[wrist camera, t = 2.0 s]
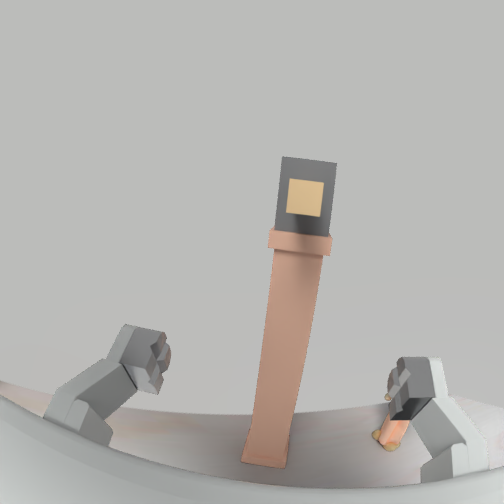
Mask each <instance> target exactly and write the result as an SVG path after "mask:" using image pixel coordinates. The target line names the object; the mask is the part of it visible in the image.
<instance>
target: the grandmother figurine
mask: <svg viewBox="0 0 504 504" xmlns="http://www.w3.org/2000/svg"><path fill="white" fill-rule="evenodd" d="M385 399H386V400H391V399H392V398H391V397H390V396H389V394H388V393H387V394H386V395H385ZM409 422H410V420H398V421H390V416H389V413H388V415H387V417H386V419H385V421H384V423H383V425H382V427H381V430H375V431H374V432H373V433H372V436H373V438H374V439H376V440H379V442H380V443H381V444H382V445H383V448H384V449H385V450H387V451H394V450H395V449H397V448H398V447H399V446H400V441H401V439H402V437H403V435H404V434H405V432H406V430H407V427H408V425H409Z"/></svg>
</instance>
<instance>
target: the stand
mask: <svg viewBox="0 0 504 504" xmlns="http://www.w3.org/2000/svg"><path fill="white" fill-rule="evenodd" d="M274 228H275V226H274V227H273V228H272V229H271V230H270V233H269V243H268V248H274V257H273V265H272V274H271V282H270V291H269V298H268V306H267V314H266V322H265V329H264V337H263V345H262V352H261V360H260V367H259V374H258V381H257V388H256V395H255V402H254V409H253V416H252V423H251V429H249V432H248V436H247V439H246V442H245V446H244V449H243V453H242V457H241V462H244V463H250V464H256V465H262V466H268V467H275V468H282V469H285V465H286V461H287V453H288V445H289V437H290V435H288V434H289V430H290V426H291V422H292V418H293V413H294V409H295V405H296V400H297V396H298V391H299V386H300V382H301V376H302V372H303V368H304V362H305V358H306V353H307V347H308V342H309V337H310V331H311V326H312V321H313V315H314V309H315V303H316V298H317V292H318V286H319V279H320V273H321V266H322V259H323V255H326V256H330V251H331V244H332V237H331V235H330V234H328V237H323V236H316V235H308V234H301V233H293V232H285V231H278V230H274Z"/></svg>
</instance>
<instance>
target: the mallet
mask: <svg viewBox="0 0 504 504" xmlns="http://www.w3.org/2000/svg"><path fill="white" fill-rule="evenodd" d="M336 166H337V163H331V162H324V161H317V160H309V159H300V158H291V157H282V164H281V174H280V183H279V192H278V201H277V210H276V219H275V228H274V230H278V231H285V232H293V233H301V234H308V235H316V236H323V237H328V234H329V226H330V219H331V211H332V202H333V194H334V185H335V176H336Z"/></svg>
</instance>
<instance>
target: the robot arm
mask: <svg viewBox="0 0 504 504" xmlns="http://www.w3.org/2000/svg"><path fill="white" fill-rule="evenodd" d="M166 339H167V338H166V335H165V333H164V332H159V331H155V330H150V329H145V328H140V327H137V326H132V325H127V324H125V325H124V326H123V327H122V328H121V330H120V332H119V334H118V336H117V338H116V340H115V342H114V344H113V346H112V348H111V350H110V352H109V354H108V356H107V358H106V359H101V360H100V361H99V362H97V363H95V364H94V365H92V366H91V367H89V368H88V369H86V370H85V371H83V372H82V373H80V374H79V375H77V376H76V377H75V378H73V379H71V380H70V381H69V382H67V383H65V384H64V385H63V386H61V387H59V388H58V389H57V390H56V392H55V394H54V396H53V398H52V400H51V402H50V404H49V406H48V408H47V410H46V412H45V414H44V416H43V418H42V417H40V416H38V415H36V414H34V413H32V412H30V411H28V410H26V409H25V408H23V407H21V406H19V405H17V404H16V403H14V402H12V401H10V400H9V399H7V398H5V397H4V396H2V395H0V504H504V466H502V467H499V468H495V469H491V470H490V467H489V458H488V450H487V443H486V438H485V436H484V435H483V434H482V433H481V431H480V430H479V429H478V428H477V426H476V425H475V424H474V423H473V422H472V420H471V419H470V418H469V417H468V415H467V414H466V413H465V412H464V411H463V409H462V408H461V407H460V406H459V405H458V403H457V402H456V401H455V400H454V399H453V397H449V396H448V390H447V385H446V380H445V376H444V371H443V366H442V362H441V359H440V358H439V357H401V358H399V359H398V361H397V367H396V368H394V369H393V370H392V371H391V373H390V375H389V378H388V386H387V387H388V394H389V396H390V397H391V398H392V400H391V402H390V403H389V416H390V421H398V420H411V421H410V422H411V423H412V425H413V427H414V428H415V430H416V431H417V433H418V435H419V436H420V438H421V440H422V441H423V443H424V445H425V446H426V448H427V449H428V451H429V453H430V454H431V456H432V458H433V459H431V460H430V461H428V462H427V463H425V464H424V465H423V466H422V467H421V483H420V484H411V485H402V486H391V487H376V488H345V489H336V488H304V487H289V486H278V485H268V484H260V483H252V482H245V481H238V480H232V479H226V478H221V477H215V476H210V475H205V474H201V473H196V472H192V471H187V470H183V469H179V468H175V467H171V466H167V465H164V464H160V463H157V462H153V461H150V460H146V459H143V458H140V457H137V456H134V455H131V454H128V453H125V452H122V451H119V450H116V449H113V448H111V447H108V445H109V443H110V440H111V437H112V434H113V431H112V429H111V428H110V426H109V425H108V424H107V423H106V422H105V421H104V420H105V419H106V418H107V417H108V416H110V415H111V414H112V413H113V412H114V411H115V410H117V409H118V408H119V407H120V406H121V405H122V404H123V403H124V402H126V401H127V400H128V399H129V398H130V397H131V396H132V395H134V394H135V393H136V392H137V390H140V391H144V392H149V393H153V394H157V395H158V394H159V391H160V388H161V386H162V383H163V376H162V373H163V372H165V371H166V370H167V369H168V366H169V363H170V358H171V350H170V347H169V345H168V344H167V343H166V342H165V341H166Z"/></svg>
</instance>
